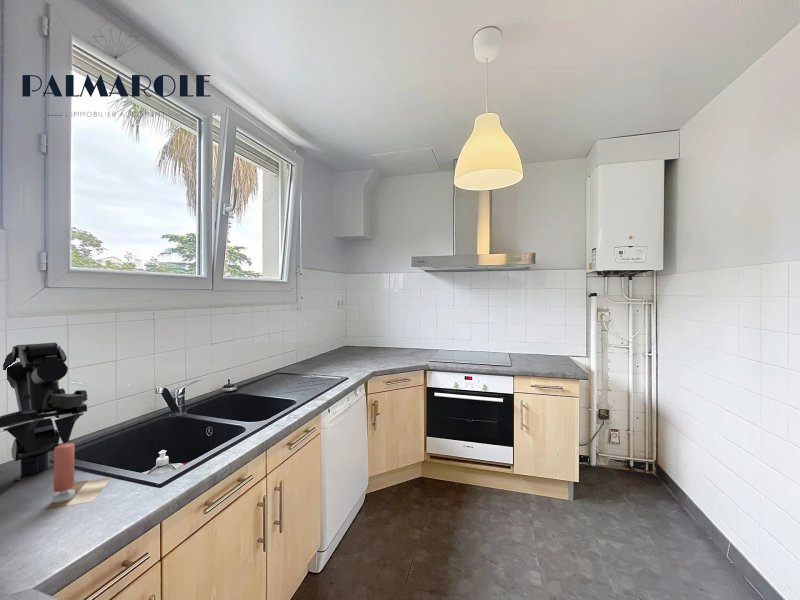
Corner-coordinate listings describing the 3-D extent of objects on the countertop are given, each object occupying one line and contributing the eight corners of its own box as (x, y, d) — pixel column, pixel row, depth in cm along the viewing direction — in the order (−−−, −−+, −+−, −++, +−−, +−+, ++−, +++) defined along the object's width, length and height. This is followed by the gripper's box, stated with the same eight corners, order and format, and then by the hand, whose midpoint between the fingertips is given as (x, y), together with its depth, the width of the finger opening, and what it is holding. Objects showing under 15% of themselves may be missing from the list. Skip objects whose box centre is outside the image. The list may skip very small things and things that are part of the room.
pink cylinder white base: (59, 495, 86) (60, 443, 86) (78, 493, 87) (79, 442, 87) (48, 504, 82) (48, 450, 82) (68, 502, 83) (68, 448, 83)
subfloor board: (69, 487, 92) (69, 483, 92) (111, 481, 95) (111, 476, 95) (44, 514, 81) (44, 509, 81) (93, 505, 84) (93, 500, 84)
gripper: (40, 382, 84) (46, 446, 81) (102, 378, 102) (109, 431, 99) (-8, 394, 83) (-3, 460, 80) (64, 388, 101) (70, 442, 99)
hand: (49, 446), depth 90 cm, fingers open, 9 cm apart
